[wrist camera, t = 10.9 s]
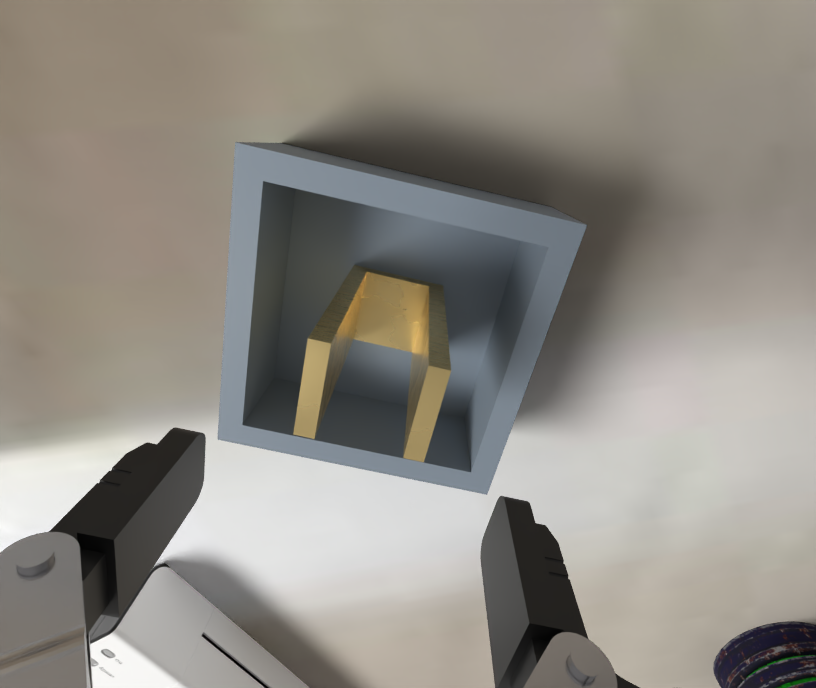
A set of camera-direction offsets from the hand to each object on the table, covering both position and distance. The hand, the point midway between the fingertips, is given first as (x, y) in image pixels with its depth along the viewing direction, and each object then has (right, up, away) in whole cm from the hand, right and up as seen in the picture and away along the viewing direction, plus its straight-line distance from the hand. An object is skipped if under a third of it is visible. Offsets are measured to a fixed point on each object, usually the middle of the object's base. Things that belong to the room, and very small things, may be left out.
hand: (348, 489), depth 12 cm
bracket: (+1, +6, +14) cm, 15 cm away
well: (+1, +6, +14) cm, 16 cm away
